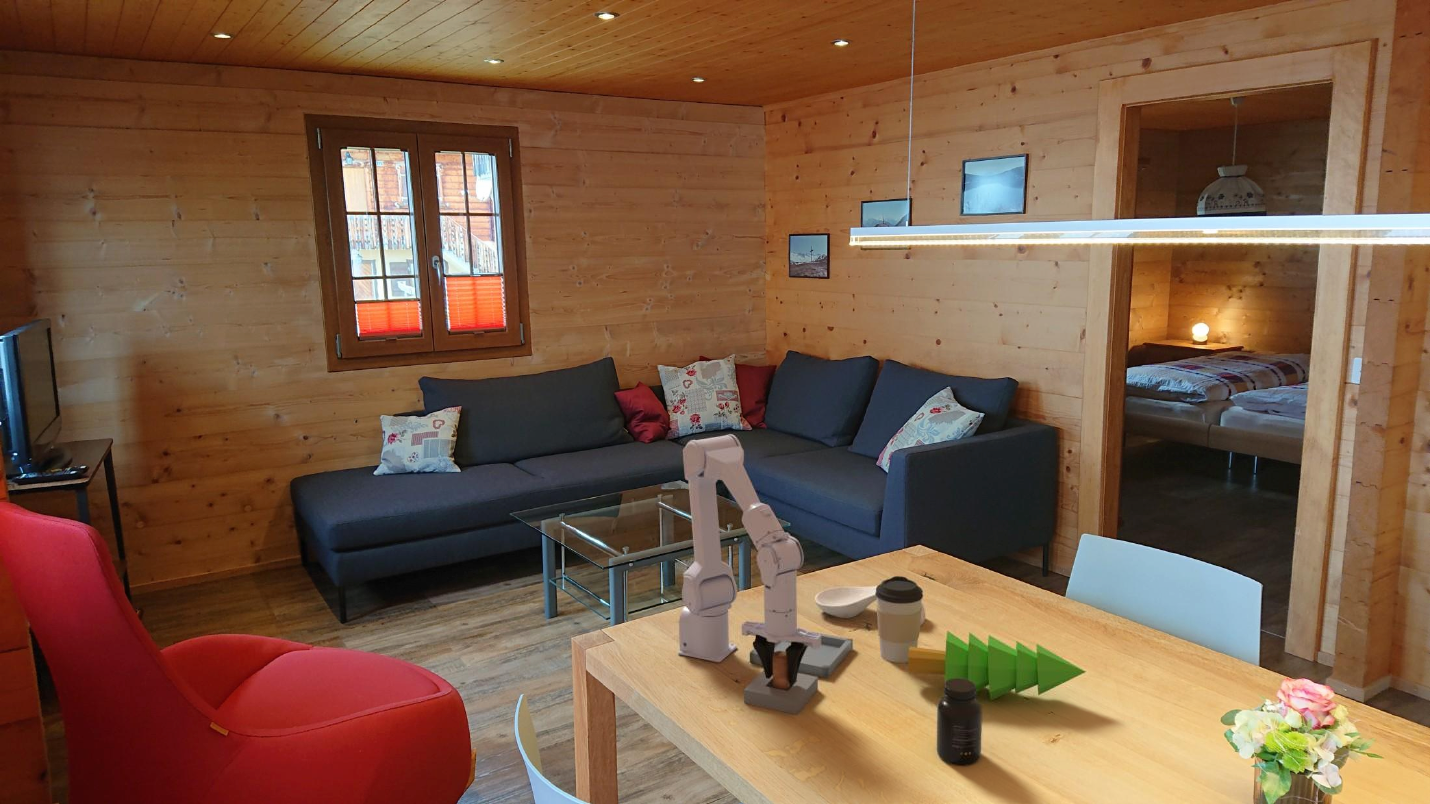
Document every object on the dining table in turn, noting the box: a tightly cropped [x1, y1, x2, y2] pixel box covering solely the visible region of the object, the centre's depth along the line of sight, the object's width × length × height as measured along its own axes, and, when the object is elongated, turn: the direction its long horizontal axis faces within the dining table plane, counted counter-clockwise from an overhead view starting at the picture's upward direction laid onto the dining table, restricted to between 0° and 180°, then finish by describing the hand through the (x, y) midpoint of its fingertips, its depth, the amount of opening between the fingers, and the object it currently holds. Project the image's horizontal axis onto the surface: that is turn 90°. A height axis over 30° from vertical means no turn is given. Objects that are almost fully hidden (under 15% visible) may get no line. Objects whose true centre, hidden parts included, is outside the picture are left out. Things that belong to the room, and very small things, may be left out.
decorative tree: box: [907, 630, 1087, 701], centre depth 168 cm, size 11×12×30 cm
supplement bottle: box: [936, 678, 983, 767], centre depth 149 cm, size 7×7×12 cm
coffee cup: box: [875, 575, 924, 664], centre depth 185 cm, size 9×9×15 cm
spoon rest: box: [814, 585, 926, 627], centre depth 205 cm, size 24×12×7 cm, turn 69°
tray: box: [749, 630, 854, 679], centre depth 186 cm, size 16×14×2 cm
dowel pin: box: [773, 651, 790, 691], centre depth 170 cm, size 3×3×8 cm
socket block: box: [743, 669, 819, 716], centre depth 170 cm, size 10×10×2 cm
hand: (781, 678), depth 170 cm, fingers open, 4 cm apart
